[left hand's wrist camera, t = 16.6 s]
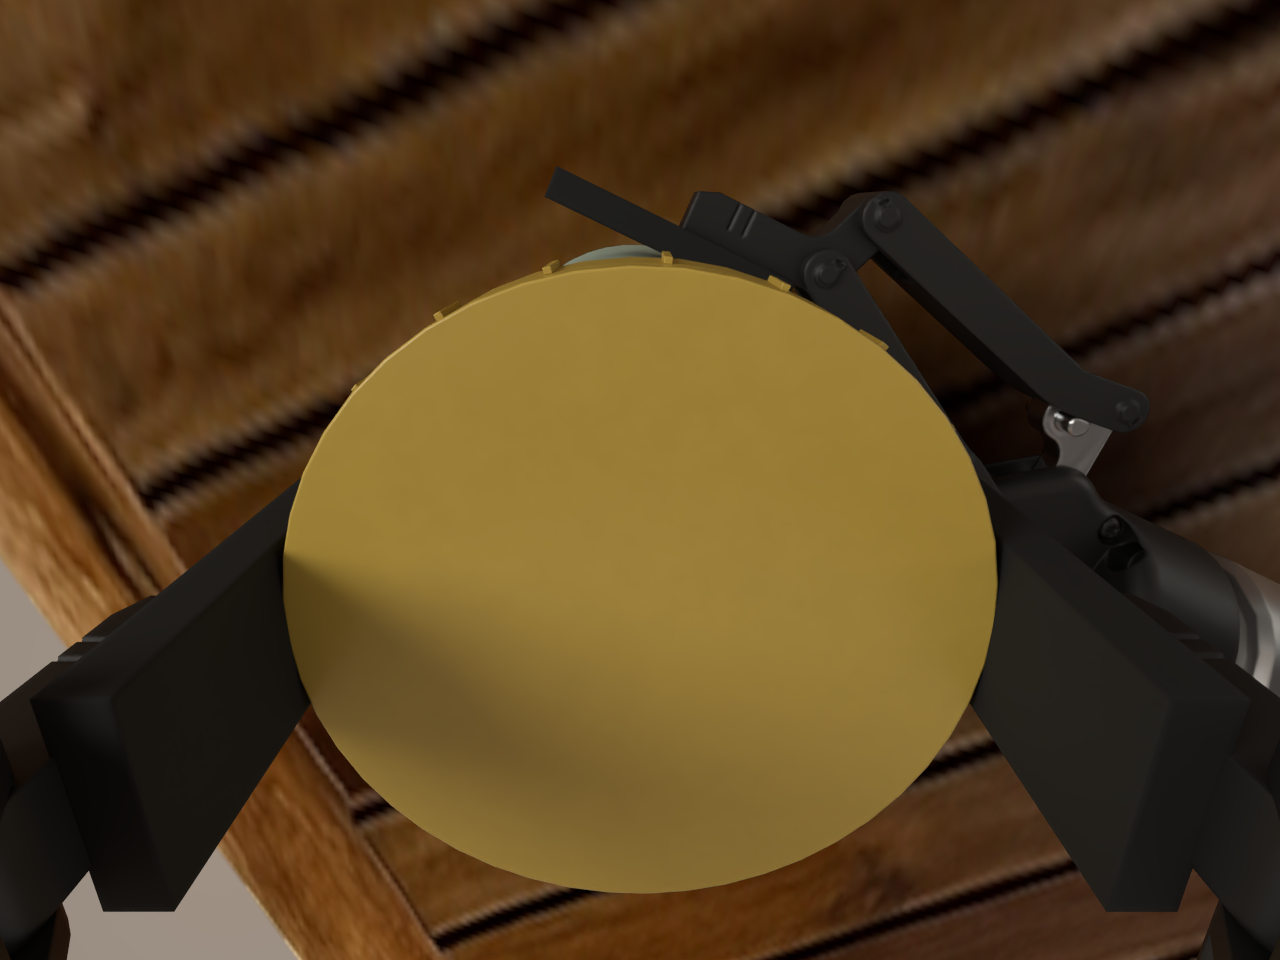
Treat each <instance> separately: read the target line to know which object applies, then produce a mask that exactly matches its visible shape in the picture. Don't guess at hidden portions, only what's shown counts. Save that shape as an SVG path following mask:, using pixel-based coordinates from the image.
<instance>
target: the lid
mask: <svg viewBox="0 0 1280 960" xmlns="http://www.w3.org/2000/svg"><path fill="white" fill-rule="evenodd" d="M542 270H543V271H539V272H536V273H533V274H531V275H528V276H526V277H523V278H520V279H518V280H515V281H513V282H510V283H507V284H505V285H502V286H500V287H497V288H494V289H492V290H491V291H489V292H487V293H485V294H483V295H482V296H480V297H478V298H476V299H474V300H473V301H471V302H469V303H467V304H465V305H464V306H462V305H461V304H460V302H459V301H457V302H455V303H454V304H452V305H450V306H448V307H446V308H444V309H443V310H441V311H439V312H437V313H436V314H434V317H435V319H436V320H437V321H436V322H434V323H433V324H431V325H429V326H428V327H426V328H425V329H423V330H422V331H421V332H419V333H418V334H417V335H415V336H414V337H413V338H411V339H410V340H409V341H408V342H406V343H405V344H404V345H402V346H401V347H400V348H398V349H397V350H396V351H394V352H393V353H392V354H391V355H389V356H388V357H387V358H385V359H384V360H383V361H382V362H381V363H380V364H379V366H378V367H377V368H376V369H375V370H374V371H373V372H372V373H371V374H370V375H369V376H368V377H366V378H365V379H363V380H362V381H360V382H359V383H357V384H356V385H355V386H354V387H353V388H352V389H351V390H352V391H353V392H352V393H351V395H350V396H349V397H348V399H347V400H346V402H345V403H344V404H343V406H342V407H341V409H340V410H339V411H338V413H337V414H336V416H335V417H334V418H333V420H332V421H331V423H330V424H329V425H328V427H327V428H326V430H325V431H324V433H323V435H322V437H321V439H320V441H319V442H318V444H317V446H316V448H315V450H314V452H313V454H312V456H311V458H310V460H309V462H308V464H307V466H306V468H305V470H304V472H303V475H302V478H301V481H300V484H299V487H298V491H297V494H296V497H295V500H294V503H293V506H292V509H291V512H290V516H289V522H288V529H287V535H286V541H285V548H284V554H283V604H284V609H285V614H286V620H287V625H288V631H289V636H290V642H291V646H292V651H293V655H294V659H295V663H296V666H297V669H298V673H299V676H300V679H301V681H302V684H303V686H304V688H305V690H306V692H307V694H308V697H309V699H310V701H311V703H312V705H313V707H314V710H315V712H316V714H317V716H318V717H319V719H320V721H321V722H322V724H323V725H324V727H325V728H326V730H327V732H328V733H329V735H330V736H331V738H332V740H333V741H334V743H335V744H336V746H337V747H338V749H339V750H340V751H341V753H342V754H343V755H344V756H345V757H346V759H347V760H348V761H349V762H350V763H351V765H352V766H353V767H354V768H355V769H356V771H357V772H358V773H359V774H360V776H361V777H362V778H363V779H364V780H365V781H366V782H367V783H368V784H369V785H370V786H371V787H372V788H373V789H375V790H376V791H377V792H378V793H379V794H380V795H381V796H382V797H383V798H384V799H385V800H386V801H387V802H388V803H389V804H390V805H391V806H393V807H394V808H395V809H397V810H398V811H399V812H401V813H402V814H403V815H405V816H406V817H407V818H409V819H410V820H411V821H413V822H414V823H415V824H417V825H418V826H419V827H421V828H422V829H423V830H425V831H427V832H428V833H430V834H432V835H433V836H435V837H437V838H439V839H440V840H442V841H444V842H445V843H447V844H449V845H450V846H452V847H454V848H455V849H457V850H459V851H462V852H464V853H466V854H468V855H470V856H473V857H475V858H477V859H479V860H481V861H484V862H486V863H488V864H490V865H492V866H495V867H498V868H501V869H504V870H507V871H510V872H513V873H516V874H519V875H522V876H525V877H528V878H531V879H535V880H540V881H544V882H548V883H553V884H557V885H561V886H566V887H571V888H579V889H587V890H595V891H602V892H618V893H661V892H676V891H688V890H694V889H700V888H707V887H713V886H719V885H725V884H729V883H733V882H736V881H740V880H744V879H747V878H751V877H755V876H759V875H762V874H765V873H768V872H771V871H773V870H776V869H779V868H781V867H784V866H786V865H789V864H792V863H794V862H797V861H800V860H802V859H804V858H806V857H808V856H810V855H812V854H814V853H816V852H818V851H820V850H822V849H824V848H826V847H828V846H830V845H832V844H834V843H836V842H837V841H839V840H840V839H842V838H843V837H845V836H846V835H848V834H850V833H851V832H853V831H854V830H856V829H857V828H859V827H860V826H862V825H863V824H865V823H867V822H868V821H870V820H871V819H872V818H873V817H874V816H876V815H877V814H878V813H879V812H880V811H882V810H883V809H884V808H885V807H887V806H888V805H889V804H890V803H891V802H893V801H894V800H895V799H896V798H898V797H899V796H900V795H901V794H902V793H903V792H904V791H905V790H906V789H907V788H908V787H909V786H910V784H911V783H912V782H913V781H914V780H915V779H916V778H917V777H918V776H919V775H920V774H921V773H922V772H923V771H924V770H925V769H926V768H927V767H928V765H929V764H930V763H931V761H932V760H933V759H934V757H935V756H936V755H937V753H938V752H939V751H940V749H941V748H942V747H943V745H944V744H945V743H946V741H947V740H948V739H949V737H950V736H951V734H952V733H953V731H954V729H955V727H956V725H957V724H958V722H959V720H960V718H961V717H962V715H963V713H964V711H965V709H966V708H967V706H968V704H969V702H970V700H971V698H972V695H973V693H974V690H975V688H976V685H977V683H978V680H979V678H980V675H981V673H982V670H983V668H984V665H985V662H986V657H987V652H988V647H989V642H990V637H991V632H992V627H993V622H994V616H995V610H996V601H997V590H998V575H997V558H996V542H995V537H994V532H993V527H992V523H991V518H990V514H989V509H988V504H987V500H986V497H985V494H984V492H983V489H982V486H981V484H980V481H979V479H978V476H977V474H976V471H975V468H974V466H973V463H972V461H971V458H970V456H969V454H968V453H967V451H966V449H965V447H964V446H963V444H962V442H961V440H960V439H959V437H958V435H957V434H956V432H955V431H956V430H955V428H954V426H953V425H952V424H951V423H950V421H949V420H948V418H947V417H946V415H945V414H944V413H943V412H942V410H941V409H940V408H939V407H938V405H937V404H936V403H935V402H934V400H933V399H932V398H931V397H930V395H929V394H928V393H927V392H926V390H925V389H924V388H923V387H922V385H921V384H920V383H919V382H918V380H917V379H916V378H914V377H913V376H912V375H911V374H910V373H909V372H908V371H907V370H906V369H905V368H904V367H903V366H901V365H900V364H899V363H898V362H897V361H896V360H895V359H894V358H893V357H892V356H891V355H890V354H888V353H887V352H886V350H887V349H888V348H889V347H888V346H887V345H886V344H885V343H884V342H882V341H881V340H879V339H877V338H875V337H874V336H872V335H870V334H869V333H867V332H865V331H863V330H862V329H861V330H860V331H857V330H856V329H855V328H853V327H852V326H850V325H849V324H847V323H846V322H844V321H843V320H841V319H840V318H838V317H837V316H835V315H833V314H831V313H830V312H828V311H826V310H825V309H823V308H821V307H820V306H818V305H816V304H814V303H813V302H811V301H809V300H807V299H805V298H803V297H801V296H799V295H797V294H795V293H792V292H790V291H789V290H790V287H791V285H789V284H787V283H785V282H784V281H782V280H780V279H778V278H776V277H774V276H772V275H770V276H769V278H768V281H767V280H764V279H760V278H757V277H754V276H751V275H748V274H745V273H742V272H739V271H736V270H733V269H730V268H727V267H722V266H717V265H711V264H706V263H700V262H695V261H689V260H684V259H674V258H673V256H672V255H671V253H670V252H669V251H662V258H651V257H622V258H612V259H601V260H590V261H582V262H578V263H573V264H569V265H565V266H561V267H560V262H559V260H556V261H552V262H550V263H549V264H548V265H546V266H545V267H543V268H542Z"/></svg>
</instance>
